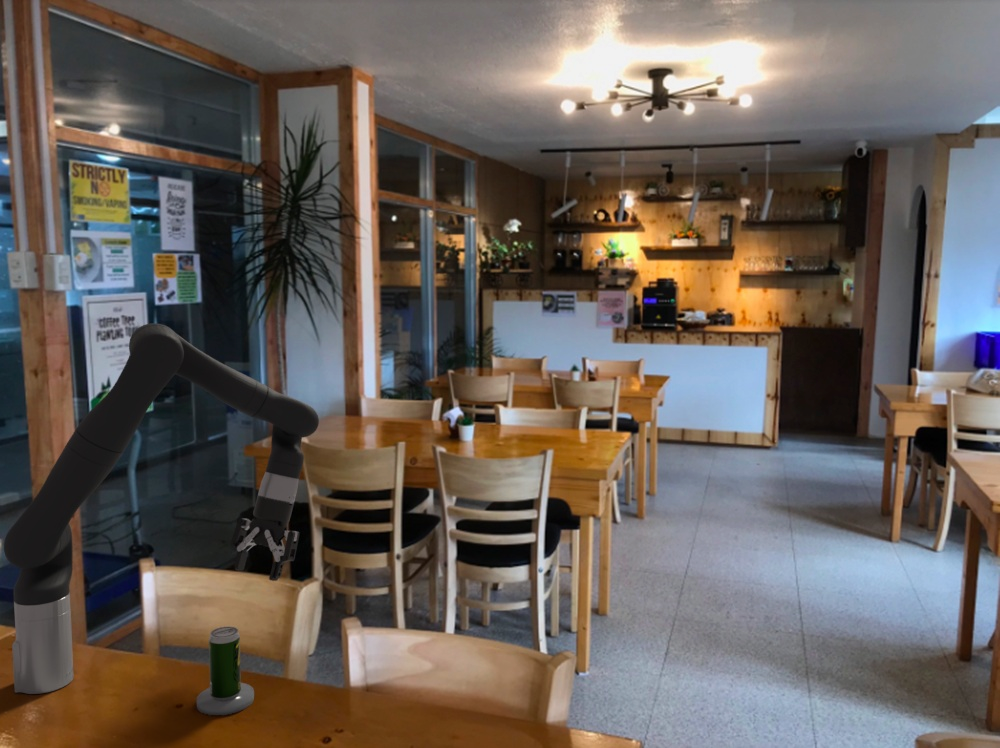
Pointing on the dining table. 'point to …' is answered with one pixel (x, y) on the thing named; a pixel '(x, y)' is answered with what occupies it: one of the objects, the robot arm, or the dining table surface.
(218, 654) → the beer can
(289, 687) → the dining table surface
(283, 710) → the dining table surface
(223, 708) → the smooth grey oval object
